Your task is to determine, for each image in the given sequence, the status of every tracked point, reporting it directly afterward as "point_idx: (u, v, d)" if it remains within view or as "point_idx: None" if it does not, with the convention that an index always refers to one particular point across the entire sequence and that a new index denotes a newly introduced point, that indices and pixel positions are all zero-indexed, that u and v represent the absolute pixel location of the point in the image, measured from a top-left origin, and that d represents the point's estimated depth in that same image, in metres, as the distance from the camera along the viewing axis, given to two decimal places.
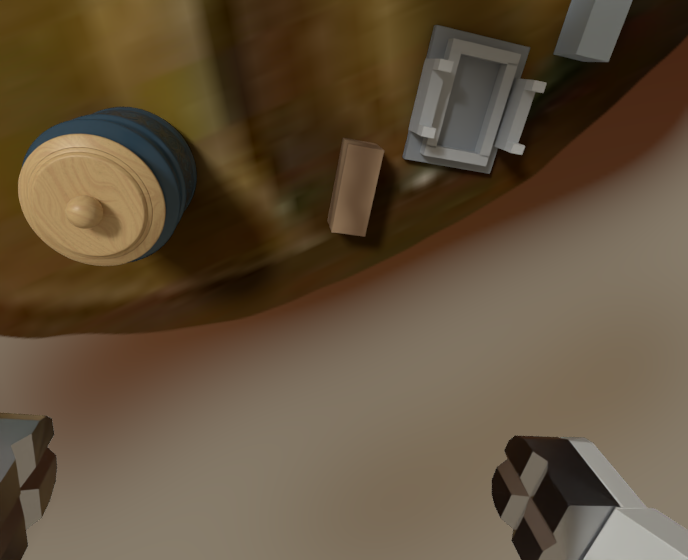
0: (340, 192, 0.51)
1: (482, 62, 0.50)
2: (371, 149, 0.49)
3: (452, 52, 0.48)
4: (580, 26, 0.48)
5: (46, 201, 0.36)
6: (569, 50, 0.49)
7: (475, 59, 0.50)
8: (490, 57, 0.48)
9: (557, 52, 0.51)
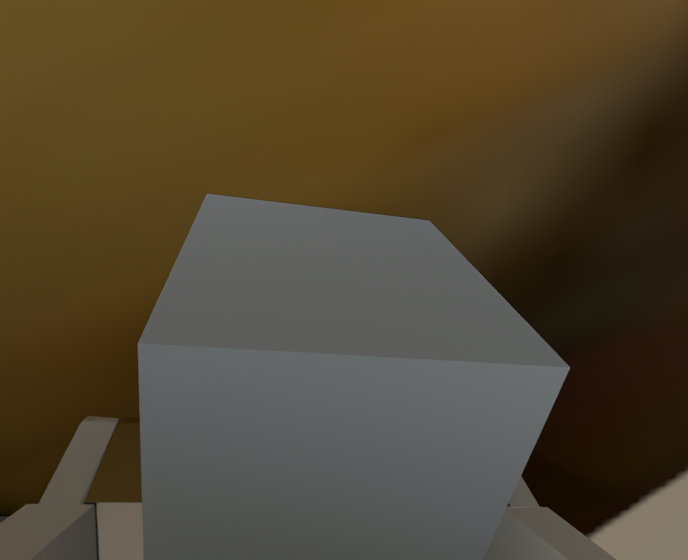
0: None
1: None
2: None
3: None
4: None
5: None
6: None
7: None
8: None
9: None
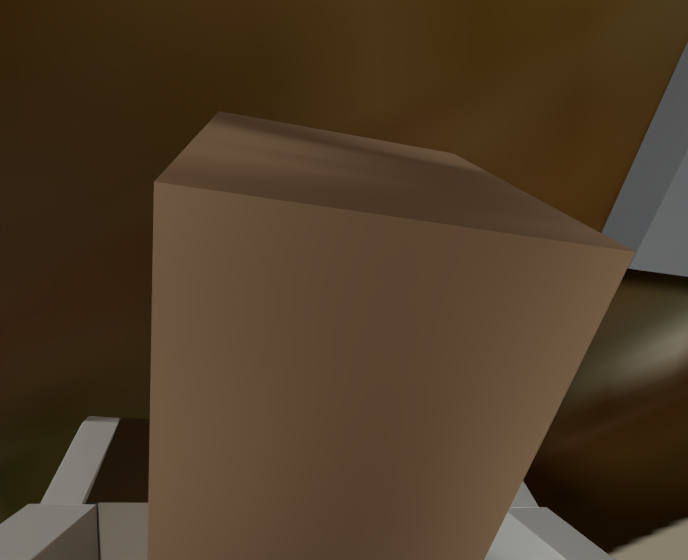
0: None
1: None
2: (484, 245, 0.04)
3: None
4: None
5: None
6: None
7: None
8: None
9: None
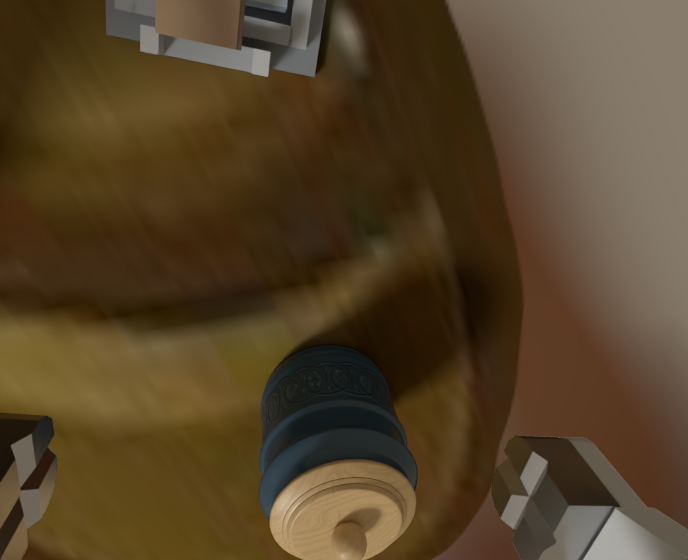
0: None
1: None
2: None
3: (136, 8, 0.29)
4: None
5: None
6: (279, 8, 0.28)
7: None
8: None
9: (282, 11, 0.30)
